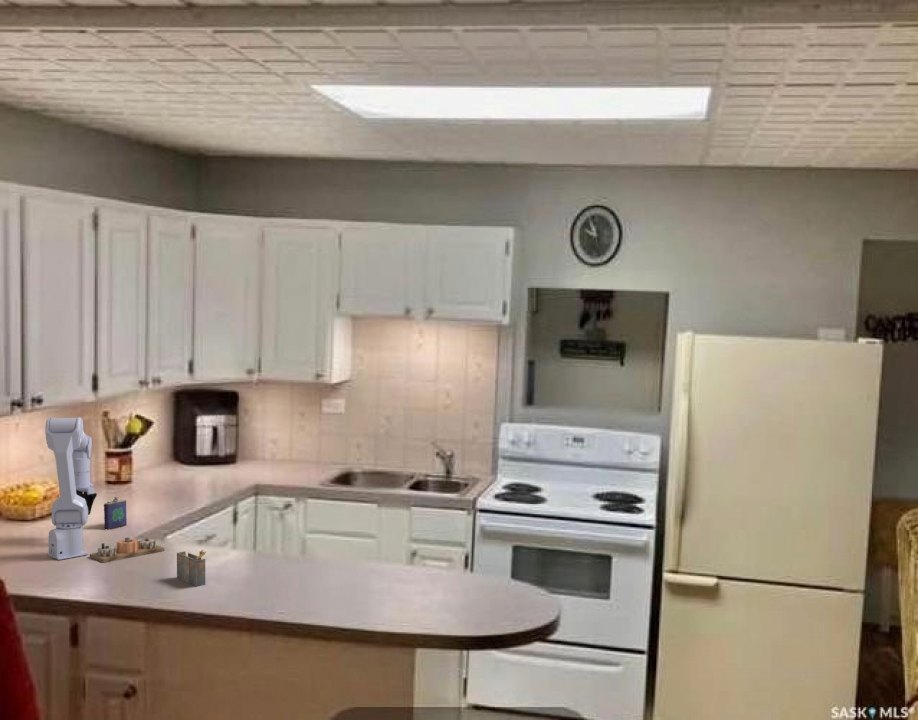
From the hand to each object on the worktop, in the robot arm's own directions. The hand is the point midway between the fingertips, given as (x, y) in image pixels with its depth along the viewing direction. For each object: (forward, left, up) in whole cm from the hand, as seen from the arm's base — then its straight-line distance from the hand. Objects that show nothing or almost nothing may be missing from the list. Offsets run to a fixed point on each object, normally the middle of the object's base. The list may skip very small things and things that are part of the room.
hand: (81, 513), depth 309 cm
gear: (+3, -25, -8) cm, 27 cm away
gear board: (+3, -25, -9) cm, 27 cm away
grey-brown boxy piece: (+1, -65, -10) cm, 66 cm away
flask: (+18, +12, -10) cm, 24 cm away
